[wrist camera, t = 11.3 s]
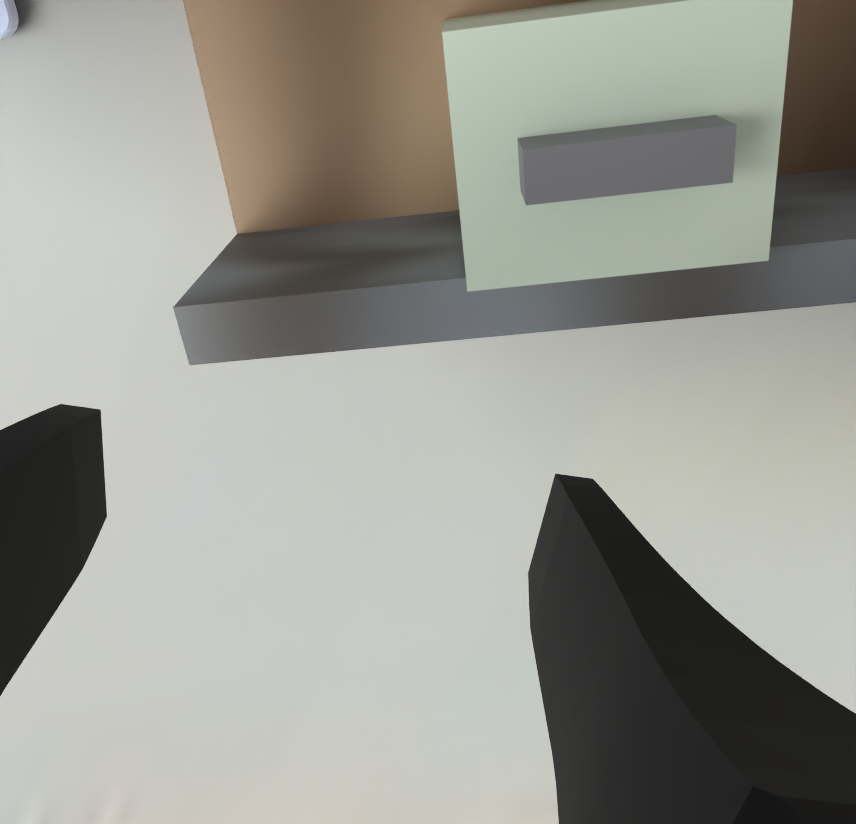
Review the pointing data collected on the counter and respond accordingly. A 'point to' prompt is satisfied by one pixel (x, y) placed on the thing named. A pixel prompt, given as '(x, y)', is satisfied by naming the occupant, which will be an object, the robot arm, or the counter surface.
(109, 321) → the counter surface
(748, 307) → the cleat board
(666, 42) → the cabinet block
